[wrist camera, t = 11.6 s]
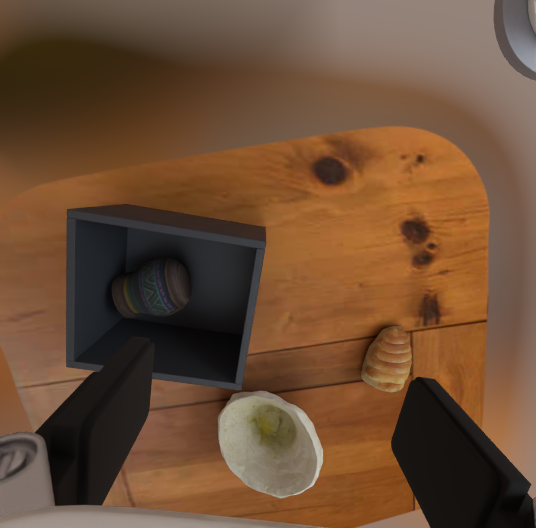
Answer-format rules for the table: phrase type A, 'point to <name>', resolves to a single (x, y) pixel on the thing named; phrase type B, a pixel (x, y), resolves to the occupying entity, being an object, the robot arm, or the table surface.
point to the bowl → (269, 443)
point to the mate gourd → (152, 289)
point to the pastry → (388, 360)
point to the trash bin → (186, 320)
